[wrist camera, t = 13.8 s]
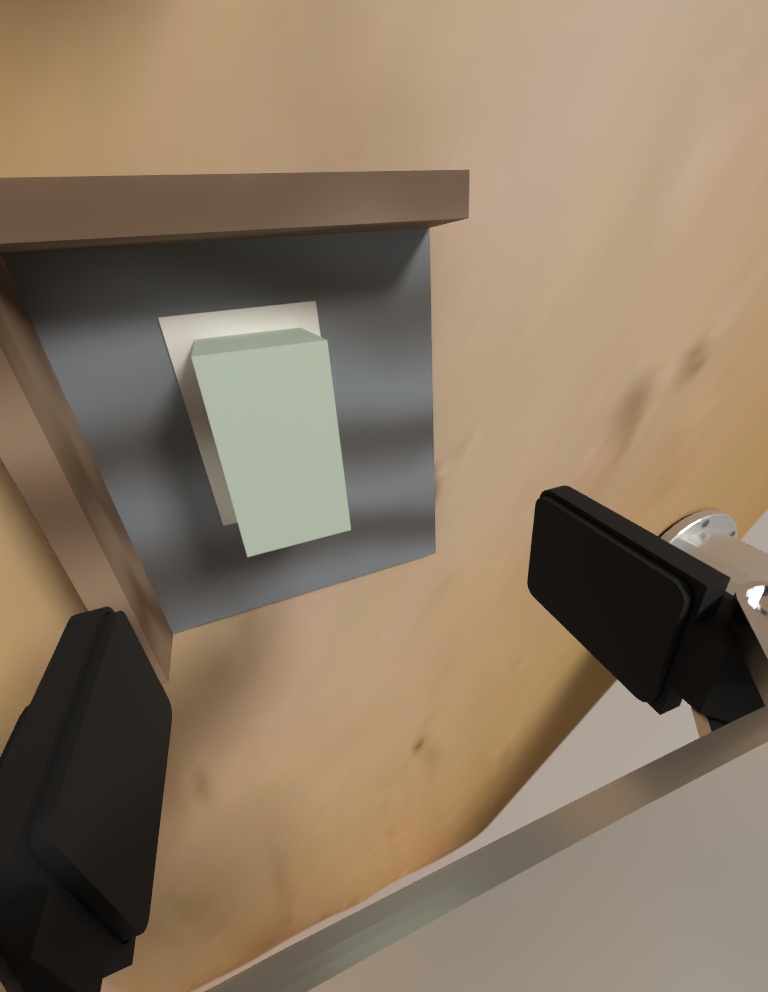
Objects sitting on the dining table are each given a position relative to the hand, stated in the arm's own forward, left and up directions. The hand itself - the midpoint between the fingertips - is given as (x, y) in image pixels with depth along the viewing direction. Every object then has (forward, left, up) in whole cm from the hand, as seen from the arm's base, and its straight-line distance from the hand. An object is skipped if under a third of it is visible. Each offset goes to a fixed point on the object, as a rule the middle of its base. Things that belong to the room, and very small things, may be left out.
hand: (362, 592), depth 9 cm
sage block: (0, 0, -13) cm, 13 cm away
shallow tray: (-1, +1, -14) cm, 14 cm away
